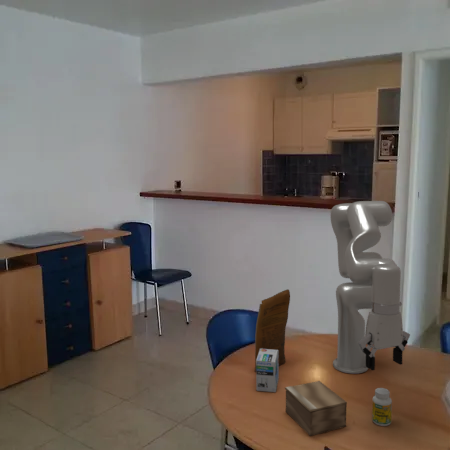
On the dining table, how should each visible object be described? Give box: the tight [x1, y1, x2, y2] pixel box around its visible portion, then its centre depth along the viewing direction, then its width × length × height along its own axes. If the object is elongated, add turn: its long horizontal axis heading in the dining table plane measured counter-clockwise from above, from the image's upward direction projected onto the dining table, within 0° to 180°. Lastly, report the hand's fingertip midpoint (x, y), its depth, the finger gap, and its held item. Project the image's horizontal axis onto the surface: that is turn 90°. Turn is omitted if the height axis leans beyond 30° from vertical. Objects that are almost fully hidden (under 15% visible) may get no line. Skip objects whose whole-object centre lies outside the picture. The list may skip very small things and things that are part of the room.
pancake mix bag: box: [254, 289, 291, 373], centre depth 179 cm, size 7×19×28 cm, turn 132°
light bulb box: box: [255, 349, 280, 393], centre depth 166 cm, size 11×7×11 cm, turn 168°
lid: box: [284, 380, 348, 412], centre depth 144 cm, size 12×14×1 cm
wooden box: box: [285, 390, 348, 437], centre depth 145 cm, size 12×14×7 cm
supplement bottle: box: [371, 387, 393, 427], centre depth 143 cm, size 5×5×10 cm
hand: (383, 365), depth 140 cm, fingers open, 9 cm apart
